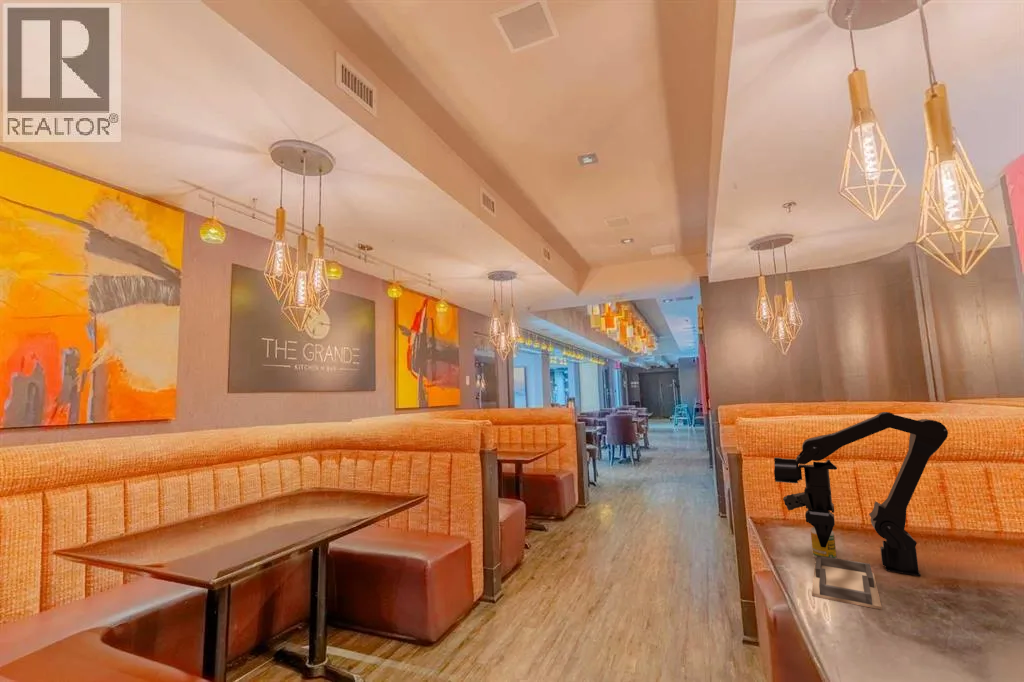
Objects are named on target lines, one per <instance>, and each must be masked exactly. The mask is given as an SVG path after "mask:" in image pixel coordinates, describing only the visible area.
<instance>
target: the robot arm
mask: <svg viewBox="0 0 1024 682" xmlns="http://www.w3.org/2000/svg"><path fill="white" fill-rule="evenodd" d="M887 429H892V430H893V429H894V430H896V431H897V430H898V431H901V432H904V433H909V439H908V449H907V452H906V455H905V457H904V460H903V462H902V464H901V467H900V468H899V470H898V472H897V475H896V478H895V480H894V482H893V484H892V487H891V489H890V491H889V493H888V496H887V497H886V499H885V500H884V501H883V502H882V503H879V502H878V501H874V504H873V509H872V510H871V511H870V513H869V514H868V515H869V517H870V523H871V525H872V527H873V529H874V530H875V533H877V535H878V536H880V537H881V538H883V540H882V546H880V547H879V548H880V558H881V564H882V566H883V567H884V568H885V570H886V571H888V572H891V573H898V574H903V575H904V574H905V575H909V576H910V575H912V576H915V577H916V576H917V577H921V571H919V565H918V564H919V563H918V556H917V555H918V553H917V549H916V547H917V544H918V543H917V541H916V540H915V539H914V537H913V536H912V535H911V534H910V533H909V532H908V531H906V529H905V528H906V523H907V511H908V510H907V509H908V506H909V503H910V502H911V500H912V497H913V495H914V493H915V491H916V488H917V485H918V483H919V482H920V479H921V477H922V475H923V473H924V471H925V468H926V466H927V464H928V463H929V462H928V461H929V459H930V458H931V457H932V456H933V455H934V454H935V453H936V452H937V451H938V450H939V449H940V448H941V446H942V445H943V443H944V442H946V440H947V438H948V436H949V431H948V429H947V428H946V426H945V425H944V424H943V423H942V422H940V421H938V420H933V419H929V418H928V419H926V418H924V419H923V418H922V419H918V420H917V419H912V418H909V417H904V416H901V415H897V414H894V413H891V412H888V411H882V412H879V413H878V414H877V415H874V416H872V417H870V418H867V419H865V420H862V421H860V422H857V423H855V424H853V425H850V426H848V427H846V428H842V429H840V430H838V431H835V432H831V433H828V434H827V433H826V434H823V435H817V436H813V437H809V438H807V439H805V440H804V441H803V442H802V444H801V452H799V454H798V455H797V454H796V458H782V457H777V456H776V457H774V458H773V461H774V462H773V463H774V468H773V475H774V482H775V483H785V484H787V483H788V484H798V483H799V482H800V481H803V475H802V474H803V473H802V469H803V471H804V482H805V483H804V484H805V487H804V490H803V491H801V492H797V493H792V494H787V495H785V496H784V497H783V499H782V500H783V502H784V506H785V507H786V508H787V510H788V511H793V510H794V509H798V508H803V507H805V509H807V510H806V511H805V514H804V515H805V522H806V523H808V524H810V525H811V526H812V527H814V528H815V530H816V533H817V536H818V540H819V543H820V546H821V547H826V545H827V543H828V540H829V537H830V535H831V532H832V531H833V529H834V527H835V525H836V523H835V514H834V513H835V504H834V503H833V499H832V488H831V479H830V470H834V471H835V470H836V471H837V470H838V467H837V466H836V465H835V464H834V463H833V462H831V460H830V459H827V460H826V461H823V460H824V459H826V458H828V457H829V456H831V455H832V454H834V453H835V452H837V451H838V450H839V449H841V448H842V447H844V446H846V445H849V444H851V443H854V442H857V441H859V440H862V439H864V438H867V437H870V436H873V435H874V434H877V433H880V432H882V431H884V430H887ZM811 461H812V464H808V463H810V462H811Z"/></svg>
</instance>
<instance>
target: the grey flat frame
mask: <svg viewBox="0 0 1024 682" xmlns="http://www.w3.org/2000/svg"><path fill="white" fill-rule="evenodd" d="M813 569H814V570H813V579H812V587H811V589H812V590H811V595H812V597H815V596H816V597H815V598H820V599H821V598H822V599H826V600H831V601H834V602H835V601H836V602H840V603H841V602H842V603H844V604H845V603H846V604H852V605H858V606H861V607H866V608H871V609H875V610H881V611H882V610H883V607H882V604H881V598H880V595H879V589H878V587H877V586H878V585H877V583H876V577H875V573H874V572H872V566H871V564H870V563H868V562H867V563H866V562H861V561H856V560H855V561H854V560H848V559H842V558H837V557H836V558H830V557H824V556H817V555H816V558H815V563H814V566H813Z"/></svg>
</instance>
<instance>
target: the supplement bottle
mask: <svg viewBox="0 0 1024 682" xmlns="http://www.w3.org/2000/svg"><path fill="white" fill-rule="evenodd" d="M810 537H811V547H812V548H811V549H812V556H813V557H814V558H815V559H816V555H817V556H824V557H830V558H836V559H837V551H836V539H835V538H836V537H835V532H834V531H833V530H832V532H831V535H830V537H829V540H828V543H827V545H826V547H821V546H820V543H819V540H818V536H817V533H816V530H815V528H814V526H812V527H811V528H810Z"/></svg>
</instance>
